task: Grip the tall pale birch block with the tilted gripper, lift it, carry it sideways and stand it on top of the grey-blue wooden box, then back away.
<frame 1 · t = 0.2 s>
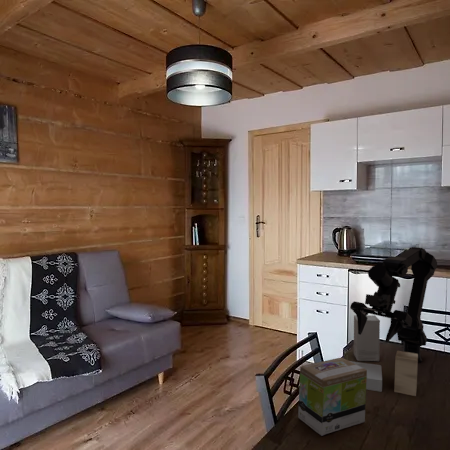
hand: (372, 338, 128), 15 cm above the table, tool tilted 35°, fingers open, 9 cm apart
skincare box: (365, 358, 149), on the table
birch block: (405, 389, 125), on the table
tea box: (331, 421, 107), on the table
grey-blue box: (361, 381, 131), on the table
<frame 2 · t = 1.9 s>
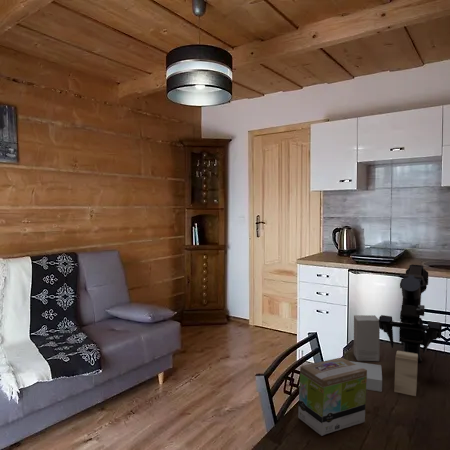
hand: (407, 349, 128), 11 cm above the table, tool tilted 45°, fingers open, 9 cm apart
nothing on the table moved.
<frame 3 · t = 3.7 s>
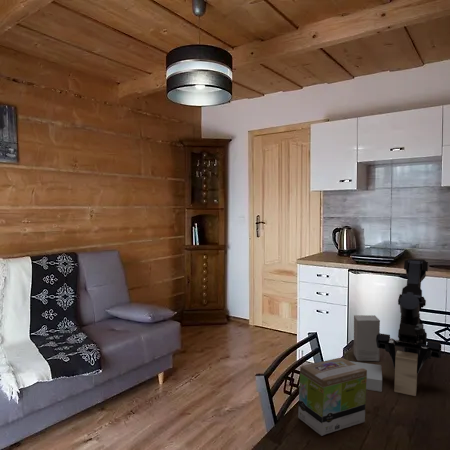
hand: (406, 370, 123), 7 cm above the table, tool tilted 45°, fingers closed on birch block, 6 cm apart
birch block: (405, 389, 125), on the table, touching gripper
everything else where it was.
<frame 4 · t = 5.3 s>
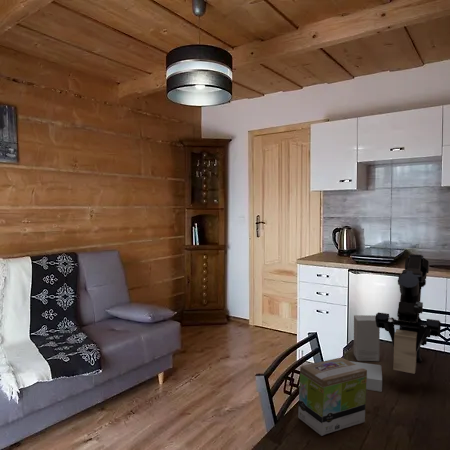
hand: (405, 348, 123), 13 cm above the table, tool tilted 45°, fingers closed on birch block, 6 cm apart
birch block: (404, 368, 124), point 7 cm above the table, touching gripper
everything else where it was.
when the fingers open (12 cm above the table, at t = 7.2 s): birch block drops 2 cm, point 4 cm above the table.
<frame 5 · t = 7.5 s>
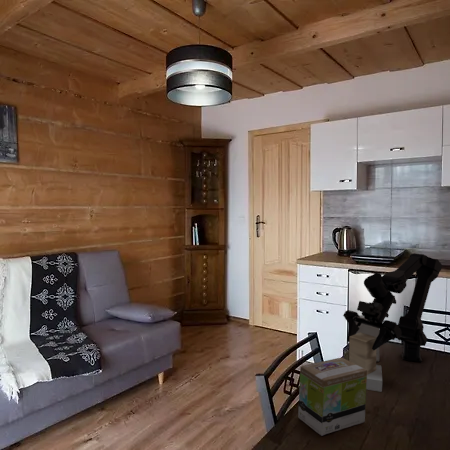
hand: (360, 345, 129), 12 cm above the table, tool tilted 45°, fingers open, 9 cm apart
birch block: (362, 369, 131), point 4 cm above the table
everything else where it was.
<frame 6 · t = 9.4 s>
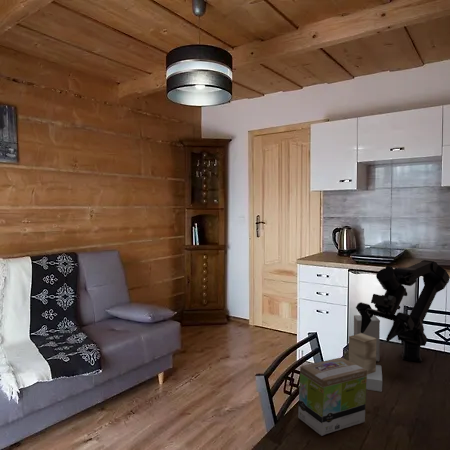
hand: (373, 336, 133), 13 cm above the table, tool tilted 45°, fingers open, 9 cm apart
birch block: (361, 370, 131), point 3 cm above the table, touching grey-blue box
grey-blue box: (361, 382, 131), on the table, touching birch block
everything else where it was.
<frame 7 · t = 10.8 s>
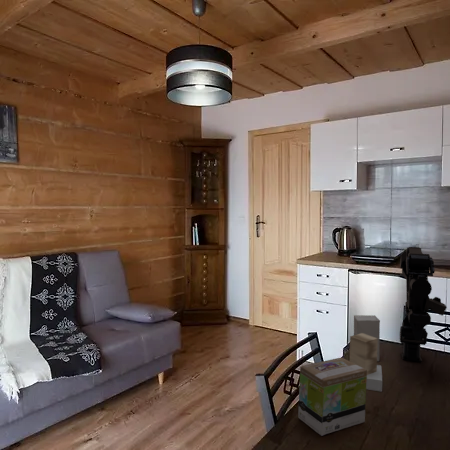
hand: (416, 336, 136), 13 cm above the table, tool pointing down, fingers open, 9 cm apart
nothing on the table moved.
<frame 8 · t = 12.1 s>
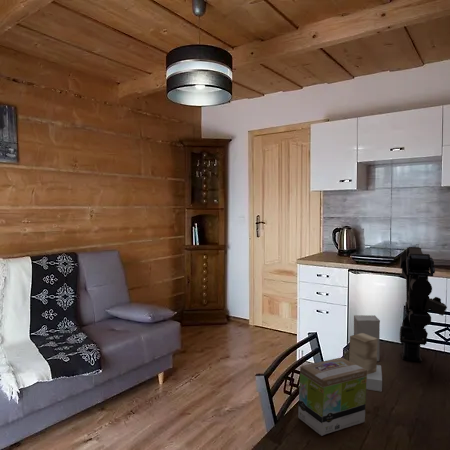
hand: (416, 336, 136), 13 cm above the table, tool pointing down, fingers open, 9 cm apart
nothing on the table moved.
at the end: birch block inside the target area on the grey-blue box (0.1 cm from its centre), point 4.0 cm above the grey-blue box's base; birch block tilted 0°; birch block touching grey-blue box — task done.
